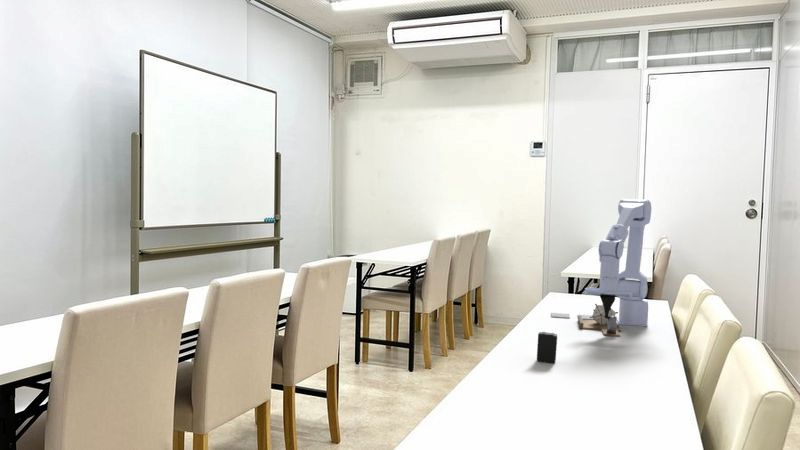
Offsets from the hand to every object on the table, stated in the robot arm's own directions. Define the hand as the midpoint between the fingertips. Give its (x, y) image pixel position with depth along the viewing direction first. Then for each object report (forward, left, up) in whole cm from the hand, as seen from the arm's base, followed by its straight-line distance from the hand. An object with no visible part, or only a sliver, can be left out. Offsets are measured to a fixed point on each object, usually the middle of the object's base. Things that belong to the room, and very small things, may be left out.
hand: (606, 317), depth 197 cm
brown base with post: (+1, -7, -5) cm, 9 cm away
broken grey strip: (+9, -23, -6) cm, 25 cm away
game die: (0, -12, -6) cm, 13 cm away
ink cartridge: (+19, +36, -6) cm, 41 cm away
